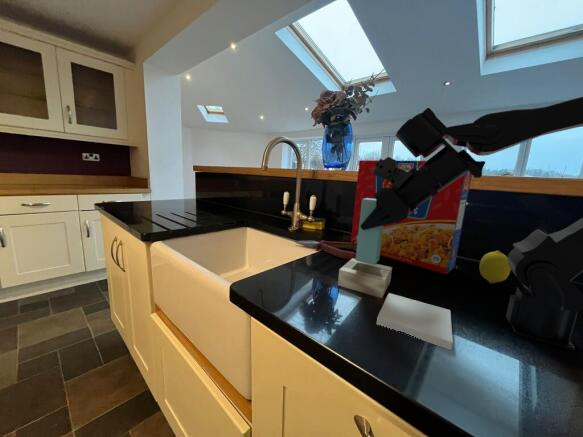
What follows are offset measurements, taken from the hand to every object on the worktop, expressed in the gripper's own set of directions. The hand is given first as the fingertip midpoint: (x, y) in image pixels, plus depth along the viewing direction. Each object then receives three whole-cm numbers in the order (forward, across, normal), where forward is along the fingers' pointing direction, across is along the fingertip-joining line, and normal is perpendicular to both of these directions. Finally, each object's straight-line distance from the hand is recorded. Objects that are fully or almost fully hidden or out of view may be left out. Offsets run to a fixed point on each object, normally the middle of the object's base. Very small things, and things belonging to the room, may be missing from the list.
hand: (364, 226), depth 52 cm
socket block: (+8, 0, +10) cm, 13 cm away
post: (+4, 0, +6) cm, 7 cm away
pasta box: (+6, -26, +12) cm, 30 cm away
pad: (0, +9, +17) cm, 20 cm away
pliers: (+20, -20, -1) cm, 28 cm away
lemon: (-9, -20, +27) cm, 35 cm away
